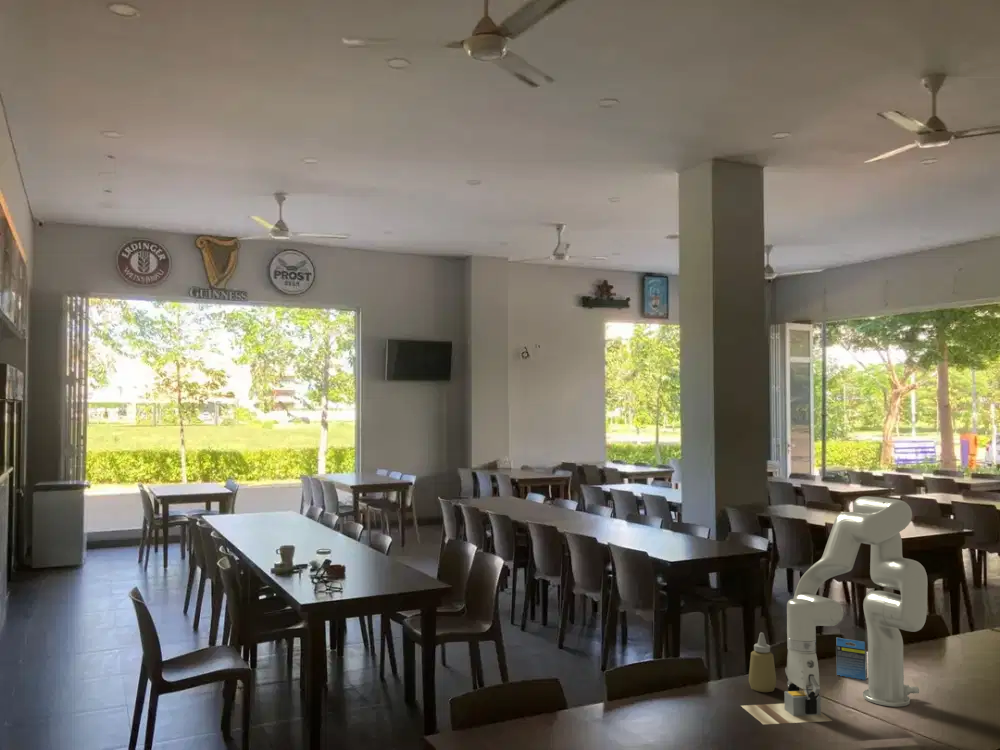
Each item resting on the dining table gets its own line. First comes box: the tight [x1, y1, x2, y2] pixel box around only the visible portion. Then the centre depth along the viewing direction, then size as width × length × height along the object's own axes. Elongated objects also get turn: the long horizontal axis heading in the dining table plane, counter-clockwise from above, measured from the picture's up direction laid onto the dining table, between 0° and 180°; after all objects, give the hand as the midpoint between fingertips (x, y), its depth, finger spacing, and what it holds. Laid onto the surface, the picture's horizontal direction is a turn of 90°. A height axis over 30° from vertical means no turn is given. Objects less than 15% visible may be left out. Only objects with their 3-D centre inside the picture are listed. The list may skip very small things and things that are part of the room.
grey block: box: [783, 690, 822, 716], centre depth 225 cm, size 8×5×5 cm, turn 98°
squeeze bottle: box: [748, 632, 777, 693], centre depth 244 cm, size 8×8×18 cm
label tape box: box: [835, 637, 868, 681], centre depth 260 cm, size 9×4×12 cm, turn 57°
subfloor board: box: [740, 702, 833, 726], centre depth 224 cm, size 20×14×2 cm
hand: (802, 707), depth 224 cm, fingers open, 8 cm apart
